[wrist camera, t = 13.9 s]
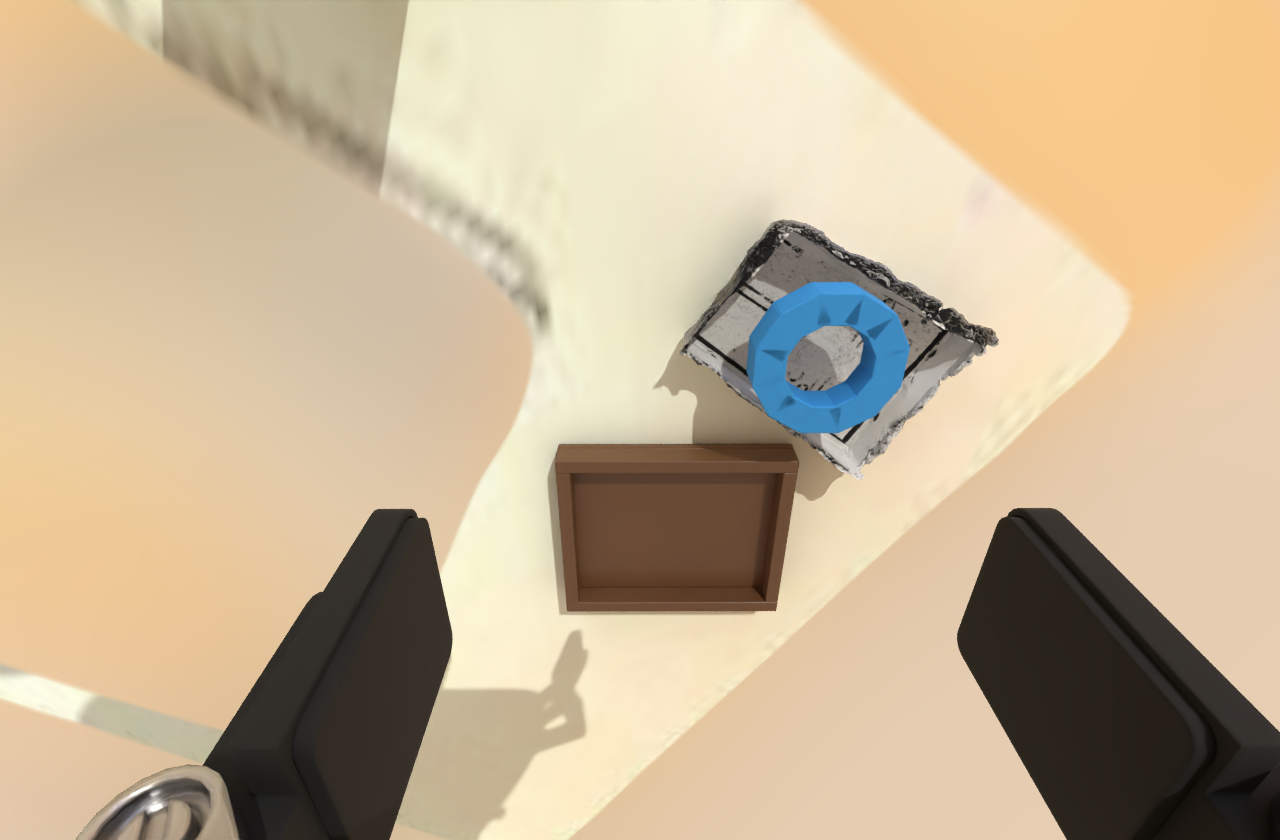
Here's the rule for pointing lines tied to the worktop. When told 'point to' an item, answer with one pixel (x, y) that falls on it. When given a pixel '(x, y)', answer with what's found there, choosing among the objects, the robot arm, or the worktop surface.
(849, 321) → the ring
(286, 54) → the worktop surface
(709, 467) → the tray
